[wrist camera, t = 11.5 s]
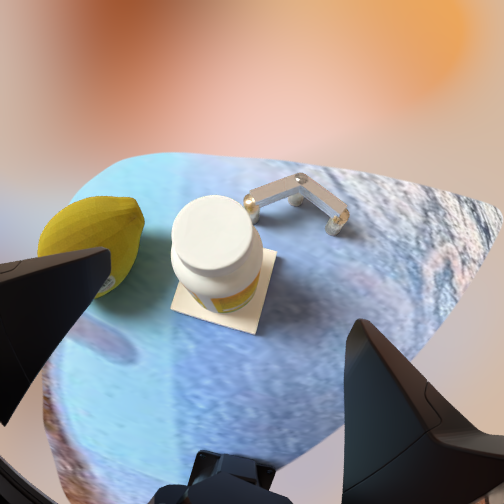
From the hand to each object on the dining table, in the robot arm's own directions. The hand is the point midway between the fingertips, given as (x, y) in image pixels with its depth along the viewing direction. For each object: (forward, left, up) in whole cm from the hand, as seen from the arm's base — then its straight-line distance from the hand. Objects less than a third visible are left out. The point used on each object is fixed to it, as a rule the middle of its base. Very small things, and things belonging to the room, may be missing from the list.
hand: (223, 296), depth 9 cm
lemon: (+2, +13, -14) cm, 19 cm away
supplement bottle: (+3, +2, -13) cm, 13 cm away
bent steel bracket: (+11, -2, -14) cm, 18 cm away
